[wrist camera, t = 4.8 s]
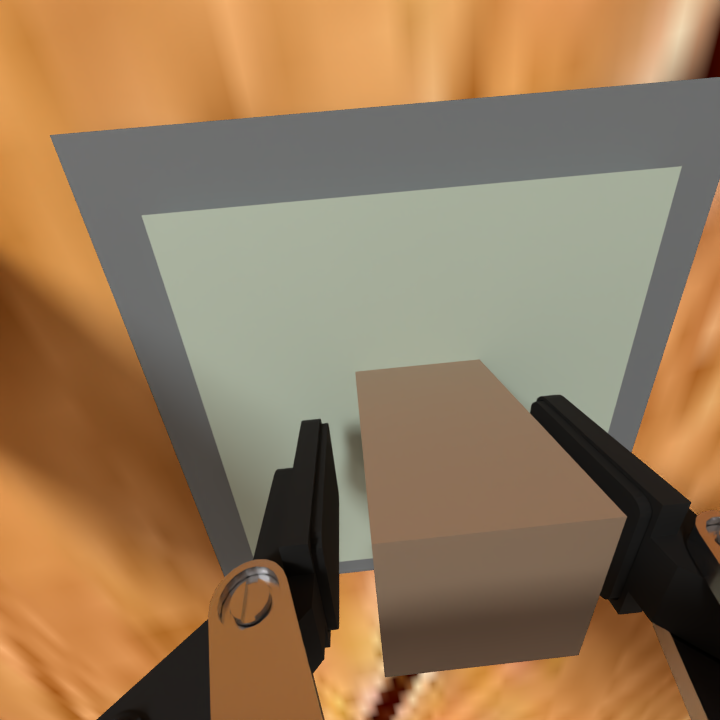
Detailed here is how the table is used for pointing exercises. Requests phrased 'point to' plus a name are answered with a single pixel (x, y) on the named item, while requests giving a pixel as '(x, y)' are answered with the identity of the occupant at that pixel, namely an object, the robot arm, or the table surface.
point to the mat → (376, 176)
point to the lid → (430, 386)
